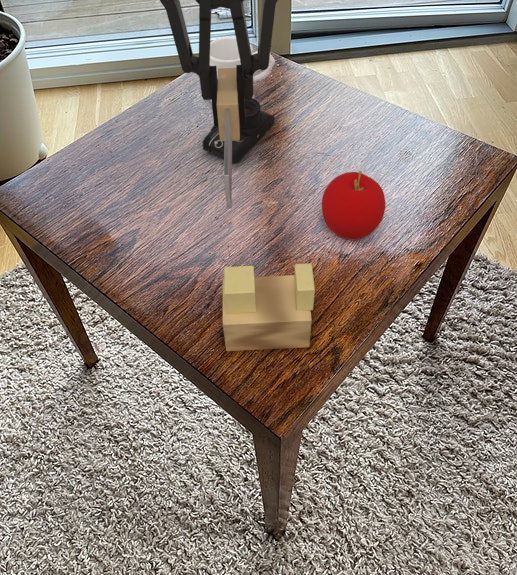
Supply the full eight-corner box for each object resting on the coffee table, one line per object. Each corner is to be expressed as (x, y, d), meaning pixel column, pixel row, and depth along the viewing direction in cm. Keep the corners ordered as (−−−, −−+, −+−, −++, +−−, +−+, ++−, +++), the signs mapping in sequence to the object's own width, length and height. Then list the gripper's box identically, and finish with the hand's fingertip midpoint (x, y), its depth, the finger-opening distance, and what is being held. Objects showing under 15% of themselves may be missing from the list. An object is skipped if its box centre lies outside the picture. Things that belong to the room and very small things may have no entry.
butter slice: (296, 311, 68) (297, 290, 65) (293, 284, 71) (294, 263, 68) (313, 310, 68) (314, 289, 65) (310, 284, 71) (311, 263, 68)
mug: (278, 107, 103) (278, 56, 96) (211, 113, 103) (206, 63, 95) (272, 82, 108) (272, 32, 101) (209, 88, 108) (203, 38, 100)
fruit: (393, 234, 83) (405, 182, 76) (342, 258, 81) (349, 207, 73) (356, 197, 89) (364, 144, 81) (307, 218, 86) (310, 166, 78)
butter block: (226, 314, 68) (224, 293, 65) (226, 287, 71) (224, 266, 68) (256, 312, 68) (255, 292, 65) (254, 286, 71) (253, 265, 68)
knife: (221, 104, 74) (217, 68, 70) (239, 103, 74) (237, 67, 70) (217, 209, 61) (213, 171, 57) (240, 208, 61) (237, 170, 57)
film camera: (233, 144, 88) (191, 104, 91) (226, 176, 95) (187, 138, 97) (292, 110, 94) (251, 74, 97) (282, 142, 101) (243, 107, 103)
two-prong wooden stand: (226, 351, 72) (222, 324, 67) (225, 306, 76) (222, 278, 72) (309, 347, 72) (311, 320, 67) (304, 302, 76) (306, 274, 72)
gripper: (294, -115, 55) (290, 99, 74) (133, -108, 55) (170, 103, 74) (299, -85, 50) (293, 135, 69) (124, -78, 50) (165, 140, 69)
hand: (229, 118), depth 71 cm, fingers closed on knife, 2 cm apart
